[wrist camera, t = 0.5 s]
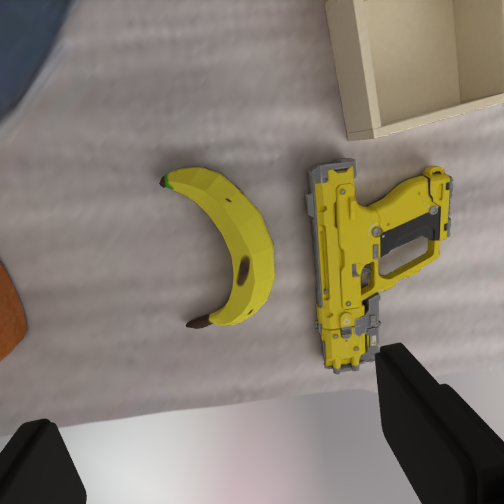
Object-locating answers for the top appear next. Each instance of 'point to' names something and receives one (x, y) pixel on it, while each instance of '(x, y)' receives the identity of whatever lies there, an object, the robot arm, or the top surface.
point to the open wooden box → (415, 61)
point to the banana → (231, 241)
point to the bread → (10, 315)
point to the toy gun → (366, 251)
